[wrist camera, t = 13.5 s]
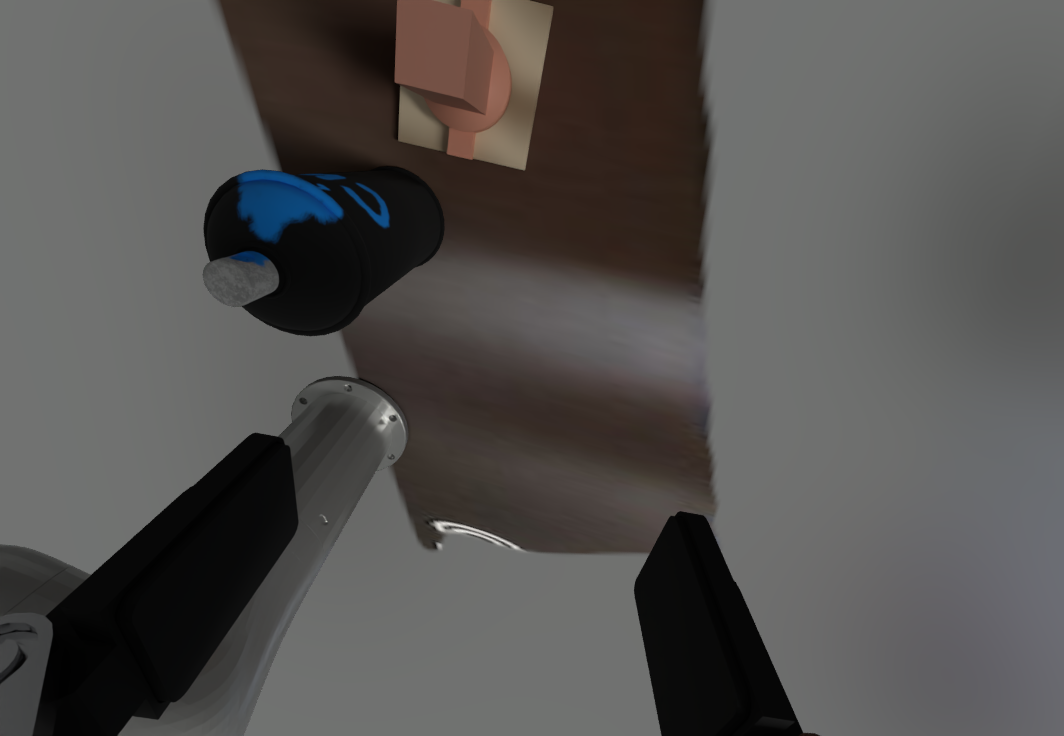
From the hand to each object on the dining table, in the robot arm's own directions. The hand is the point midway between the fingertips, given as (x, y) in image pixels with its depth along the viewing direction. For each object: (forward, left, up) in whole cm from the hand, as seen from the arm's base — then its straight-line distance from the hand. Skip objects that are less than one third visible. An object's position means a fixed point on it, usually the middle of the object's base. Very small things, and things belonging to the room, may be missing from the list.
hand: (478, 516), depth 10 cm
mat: (+12, +7, -28) cm, 32 cm away
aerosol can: (+1, +12, -28) cm, 31 cm away
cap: (+12, +7, -28) cm, 31 cm away
